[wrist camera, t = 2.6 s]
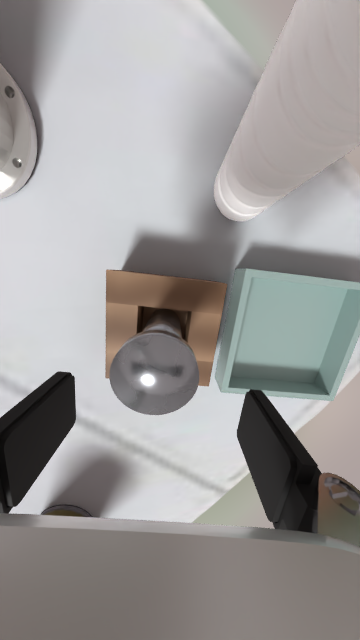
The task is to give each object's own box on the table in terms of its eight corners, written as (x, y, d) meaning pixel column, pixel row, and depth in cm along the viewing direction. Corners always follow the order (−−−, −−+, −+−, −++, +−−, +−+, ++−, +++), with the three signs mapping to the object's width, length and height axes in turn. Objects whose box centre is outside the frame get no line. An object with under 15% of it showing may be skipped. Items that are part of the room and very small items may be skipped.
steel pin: (144, 299, 22) (110, 331, 10) (188, 304, 22) (205, 340, 10) (141, 341, 23) (108, 412, 12) (183, 345, 24) (193, 417, 12)
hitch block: (121, 270, 22) (106, 269, 17) (215, 281, 23) (227, 283, 18) (118, 357, 25) (105, 378, 20) (202, 364, 26) (208, 386, 21)
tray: (235, 269, 22) (246, 268, 19) (349, 283, 23) (379, 285, 20) (214, 376, 26) (220, 392, 23) (313, 385, 27) (333, 401, 24)
